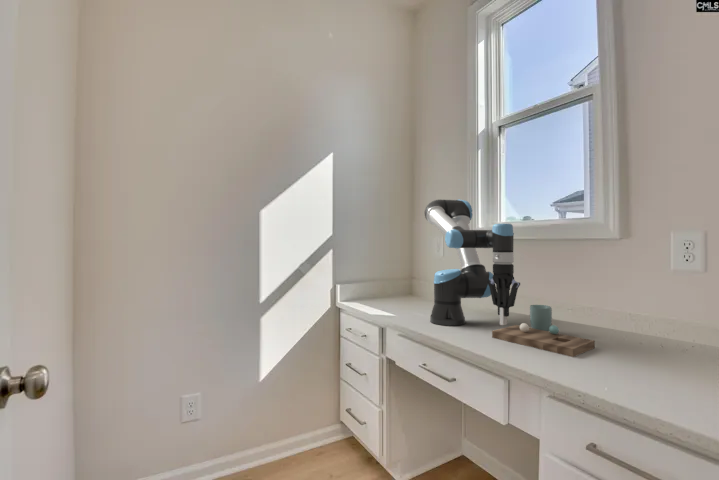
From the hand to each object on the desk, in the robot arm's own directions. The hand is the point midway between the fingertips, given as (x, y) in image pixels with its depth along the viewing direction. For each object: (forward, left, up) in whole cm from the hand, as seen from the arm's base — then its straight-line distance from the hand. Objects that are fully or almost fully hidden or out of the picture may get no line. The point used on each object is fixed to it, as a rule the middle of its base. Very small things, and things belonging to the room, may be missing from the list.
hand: (503, 324), depth 136 cm
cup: (+6, +16, -4) cm, 18 cm away
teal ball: (+16, +6, 0) cm, 17 cm away
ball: (+8, 0, 0) cm, 8 cm away
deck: (+14, 0, -4) cm, 15 cm away
